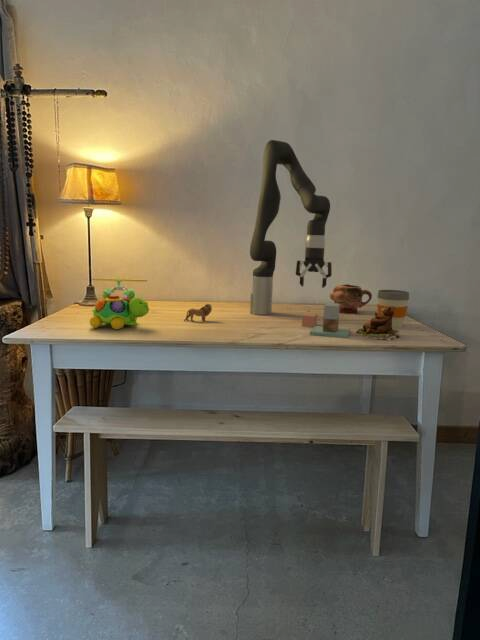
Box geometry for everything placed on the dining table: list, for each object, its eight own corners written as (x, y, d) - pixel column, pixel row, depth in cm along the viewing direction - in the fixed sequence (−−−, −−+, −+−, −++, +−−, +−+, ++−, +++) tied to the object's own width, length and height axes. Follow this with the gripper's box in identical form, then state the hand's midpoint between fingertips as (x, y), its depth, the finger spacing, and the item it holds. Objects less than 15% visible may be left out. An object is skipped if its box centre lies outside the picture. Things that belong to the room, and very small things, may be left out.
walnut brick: (322, 331, 183) (323, 318, 182) (325, 328, 190) (326, 315, 189) (336, 332, 182) (336, 319, 181) (338, 329, 188) (338, 316, 188)
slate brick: (323, 318, 182) (324, 305, 182) (326, 315, 189) (326, 302, 188) (336, 319, 181) (337, 306, 180) (338, 316, 188) (339, 303, 187)
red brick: (301, 327, 197) (302, 315, 196) (304, 324, 203) (305, 312, 202) (313, 328, 195) (314, 316, 194) (316, 325, 202) (317, 313, 201)
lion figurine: (209, 319, 207) (210, 303, 205) (212, 321, 203) (213, 304, 202) (182, 320, 203) (182, 303, 201) (185, 322, 199) (185, 305, 197)
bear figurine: (369, 330, 194) (372, 300, 192) (405, 337, 184) (408, 305, 182) (351, 335, 185) (353, 303, 183) (387, 342, 174) (390, 309, 172)
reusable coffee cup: (390, 331, 194) (393, 294, 191) (368, 325, 205) (371, 290, 202) (412, 329, 200) (416, 293, 197) (390, 323, 211) (393, 289, 208)
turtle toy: (140, 331, 179) (140, 300, 177) (82, 327, 184) (81, 297, 181) (156, 323, 196) (156, 294, 194) (102, 320, 200) (102, 291, 198)
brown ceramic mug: (365, 312, 239) (367, 284, 236) (374, 316, 227) (376, 287, 224) (325, 311, 237) (327, 283, 234) (332, 316, 225) (334, 286, 222)
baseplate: (309, 334, 182) (309, 331, 182) (314, 328, 194) (314, 325, 194) (347, 338, 178) (347, 334, 178) (350, 331, 190) (350, 328, 189)
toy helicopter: (148, 308, 231) (148, 278, 228) (145, 311, 222) (145, 280, 219) (95, 307, 229) (94, 276, 226) (90, 310, 220) (89, 278, 218)
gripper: (295, 246, 192) (293, 286, 195) (332, 247, 188) (329, 288, 191) (299, 245, 199) (297, 284, 202) (333, 247, 196) (331, 287, 198)
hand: (312, 286), depth 197 cm, fingers open, 8 cm apart
